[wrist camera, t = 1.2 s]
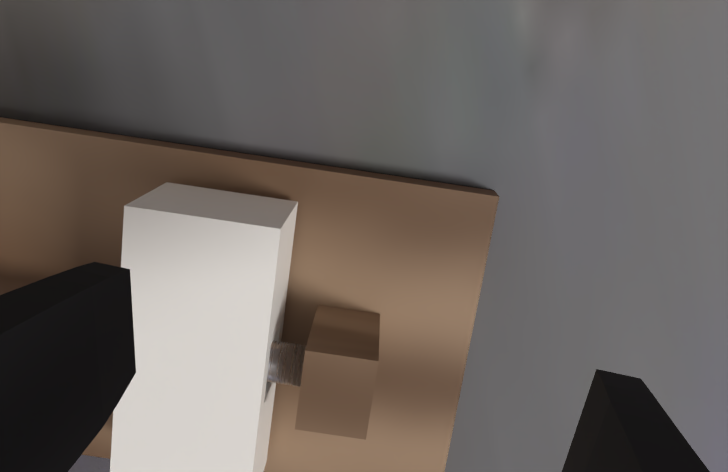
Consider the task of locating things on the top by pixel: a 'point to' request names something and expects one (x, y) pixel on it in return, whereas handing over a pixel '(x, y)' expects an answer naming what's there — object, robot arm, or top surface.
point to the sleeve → (202, 328)
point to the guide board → (305, 285)
